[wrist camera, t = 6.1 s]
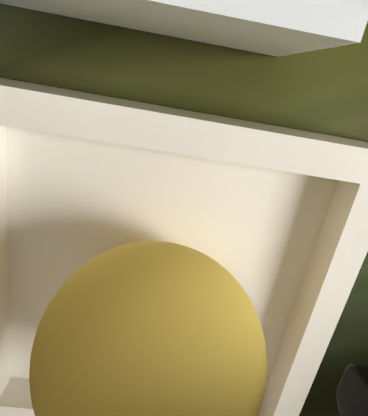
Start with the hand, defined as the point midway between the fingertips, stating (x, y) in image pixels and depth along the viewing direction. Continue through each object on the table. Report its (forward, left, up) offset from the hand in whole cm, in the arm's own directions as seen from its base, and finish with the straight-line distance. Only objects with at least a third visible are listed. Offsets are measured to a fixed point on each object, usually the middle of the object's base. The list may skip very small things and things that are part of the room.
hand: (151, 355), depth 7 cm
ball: (0, 0, -3) cm, 3 cm away
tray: (0, 0, -3) cm, 3 cm away
